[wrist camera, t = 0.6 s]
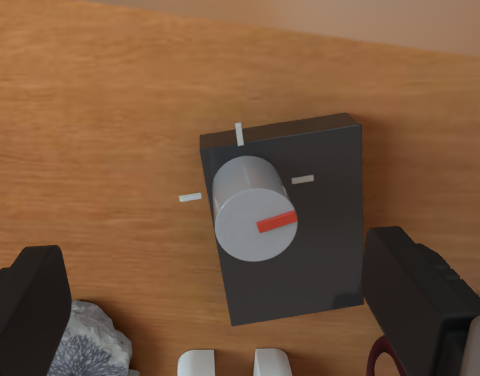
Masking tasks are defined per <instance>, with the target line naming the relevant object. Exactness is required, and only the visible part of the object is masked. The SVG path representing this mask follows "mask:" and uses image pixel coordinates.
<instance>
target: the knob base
mask: <svg viewBox="0 0 480 376" xmlns="http://www.w3.org/2000/svg"><path fill="white" fill-rule="evenodd" d="M235 129H236V130H231V131H224V132H218V133H211V134H205V135H200V154H201V160H202V165H203V171H204V176H205V182H206V187H207V193H208V198H209V204H210V209H211V215H212V220H213V226H214V231H215V224H214V210H213V197H212V184H213V180H214V177H215V175H216V173H217V172H218V170H219V169H220V168H221V167H222V166H223V165H224V164H225V163H227V162H228V161H230V160H232V159H234V158H237V157H241V156H256V157H259V158H262V159H264V160H266V161H268V162H269V163H270V164H272V165H273V166H274V168H275V169H276V170H277V172H278V174H279V176H280V178H281V180H282V183H283V185H284V187H285V189H286V191H287V193H288V196H289V198H290V200H291V202H292V204H293V206H294V209H295V211H296V214H297V219H298V224H297V231H296V234H295V236H294V238H293V240H292V242H291V243H290V245H289V246H288V247H287V248H286V249H285V250H284V251H283V252H281V253H280V254H278V255H277V256H275V257H273V258H270V259H267V260H263V261H253V262H252V261H244V260H241V259H238V258H235V257H233V256H232V255H230V254H229V253H227V252H226V251H225V250H224V249H223V248H222V247H221V245H220V244H219V242H218V240H217V237H216V233H215V237H216V242H217V248H218V254H219V259H220V265H221V270H222V276H223V281H224V287H225V292H226V298H227V303H228V309H229V314H230V320H231V325H232V326H238V325H244V324H250V323H256V322H262V321H268V320H274V319H280V318H286V317H292V316H298V315H304V314H310V313H316V312H322V311H328V310H334V309H340V308H346V307H352V306H358V305H363V304H364V294H363V290H362V283H361V277H362V268H363V210H362V129H361V124H360V123H359V122H357V121H356V120H355V119H353V118H352V117H351V116H350V115H348V114H347V113H341V114H334V115H328V116H321V117H315V118H308V119H302V120H295V121H289V122H282V123H276V124H269V125H263V126H257V127H250V128H244V129H242V127H241V122H239V123H235ZM196 199H202V196H201V193H195V194H189V195H183V196H179V200H180V202H183V201H189V200H196Z"/></svg>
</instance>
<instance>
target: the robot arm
mask: <svg viewBox="0 0 480 376" xmlns="http://www.w3.org/2000/svg"><path fill="white" fill-rule="evenodd" d="M361 283H362V290H363V294H364V297H365V300H366V302H367V304H368V305H369V307H370V309H371V311H372V313H373V314H374V316H375V318H376V320H377V322H378V323H379V325H380V327H381V329H382V331H383V333H384V334H385V336H386V338H387V340H388V342H389V343H390V345H391V347H392V349H393V351H394V352H395V354H396V356H397V358H398V360H399V361H400V363H401V365H402V367H403V369H404V370H405V372H406V374H407V376H480V297H479V296H478V295H477V294H476V293H475V292H474V291H473V290H472V289H471V288H470V287H469V286H468V285H467V284H466V283H465V282H464V280H463V279H460V276H459V275H458V274H457V273H456V272H455V271H454V270H453V269H450V266H449V265H448V263H447V262H446V261H445V260H444V259H443V258H442V257H441V256H440V255H439V254H438V253H436V252H435V251H433V250H431V249H429V248H428V247H426V246H424V245H422V244H421V243H419V244H415V243H414V242H413V241H412V240H411V238H410V237H409V236H408V235H407V234H406V233H405V232H404V231H403V229H402V228H401V227H399V226H393V227H375V228H370V229H369V230H368V232H367V236H366V243H365V252H364V260H363V268H362V277H361ZM71 308H72V299H71V292H70V288H69V283H68V279H67V274H66V269H65V265H64V260H63V255H62V252H61V249H60V247H59V246H58V245H48V246H31V247H25V248H24V249H23V250H22V251H21V253H20V254H19V256H18V257H17V258H16V260H15V261H14V263H13V264H12V266H11V267H9V268H2V269H1V270H0V376H47V374H48V372H49V369H50V367H51V364H52V362H53V359H54V357H55V354H56V352H57V349H58V347H59V344H60V342H61V339H62V337H63V334H64V332H65V329H66V327H67V325H68V322H69V319H70V315H71Z"/></svg>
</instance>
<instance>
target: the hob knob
mask: <svg viewBox="0 0 480 376" xmlns="http://www.w3.org/2000/svg"><path fill="white" fill-rule="evenodd" d="M212 197H213V210H214V224H215V233H216V237H217V240H218V242H219V244H220V245H221V247H222V248H223V249H224V250H225V251H226V252H227V253H229V254H230V255H232V256H233V257H235V258H238V259H241V260H244V261H252V262H253V261H263V260H267V259H270V258H273V257H275V256H277V255H278V254H280V253H281V252H283V251H284V250H285V249H286V248H287V247H288V246H289V245H290V243H291V242H292V240H293V238H294V236H295V234H296V231H297V224H298V219H297V214H296V211H295V209H294V206H293V204H292V202H291V200H290V198H289V196H288V193H287V191H286V189H285V187H284V185H283V183H282V180H281V178H280V176H279V174H278V172H277V170H276V169H275V168H274V166H273V165H272V164H270V163H269V162H268V161H266V160H264V159H262V158H259V157H256V156H241V157H237V158H234V159H232V160H230V161H228V162H227V163H225V164H224V165H223V166H222V167H221V168H220V169H219V170H218V172H217V173H216V175H215V177H214V180H213V184H212Z"/></svg>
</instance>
